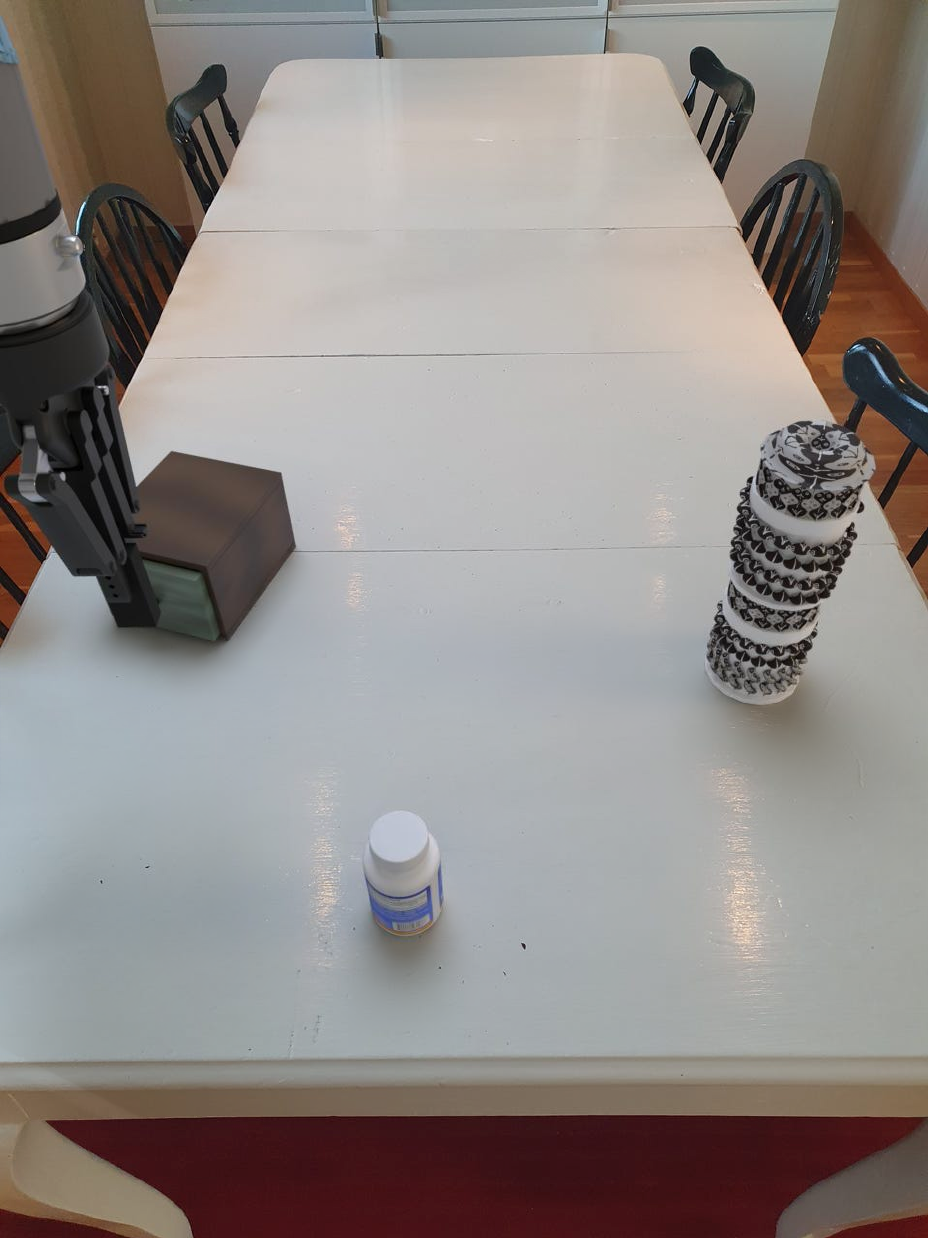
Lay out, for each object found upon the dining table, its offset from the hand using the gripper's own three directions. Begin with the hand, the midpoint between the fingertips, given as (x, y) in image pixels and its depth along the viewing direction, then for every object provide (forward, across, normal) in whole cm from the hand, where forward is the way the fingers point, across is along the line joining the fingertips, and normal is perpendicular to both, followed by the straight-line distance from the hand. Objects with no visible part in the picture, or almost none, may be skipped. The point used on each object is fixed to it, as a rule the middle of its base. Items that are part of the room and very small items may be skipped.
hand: (139, 619), depth 64 cm
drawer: (+17, +21, +4) cm, 27 cm away
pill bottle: (+18, -13, -18) cm, 29 cm away
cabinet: (+18, +24, +4) cm, 30 cm away
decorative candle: (+18, +10, -49) cm, 53 cm away
